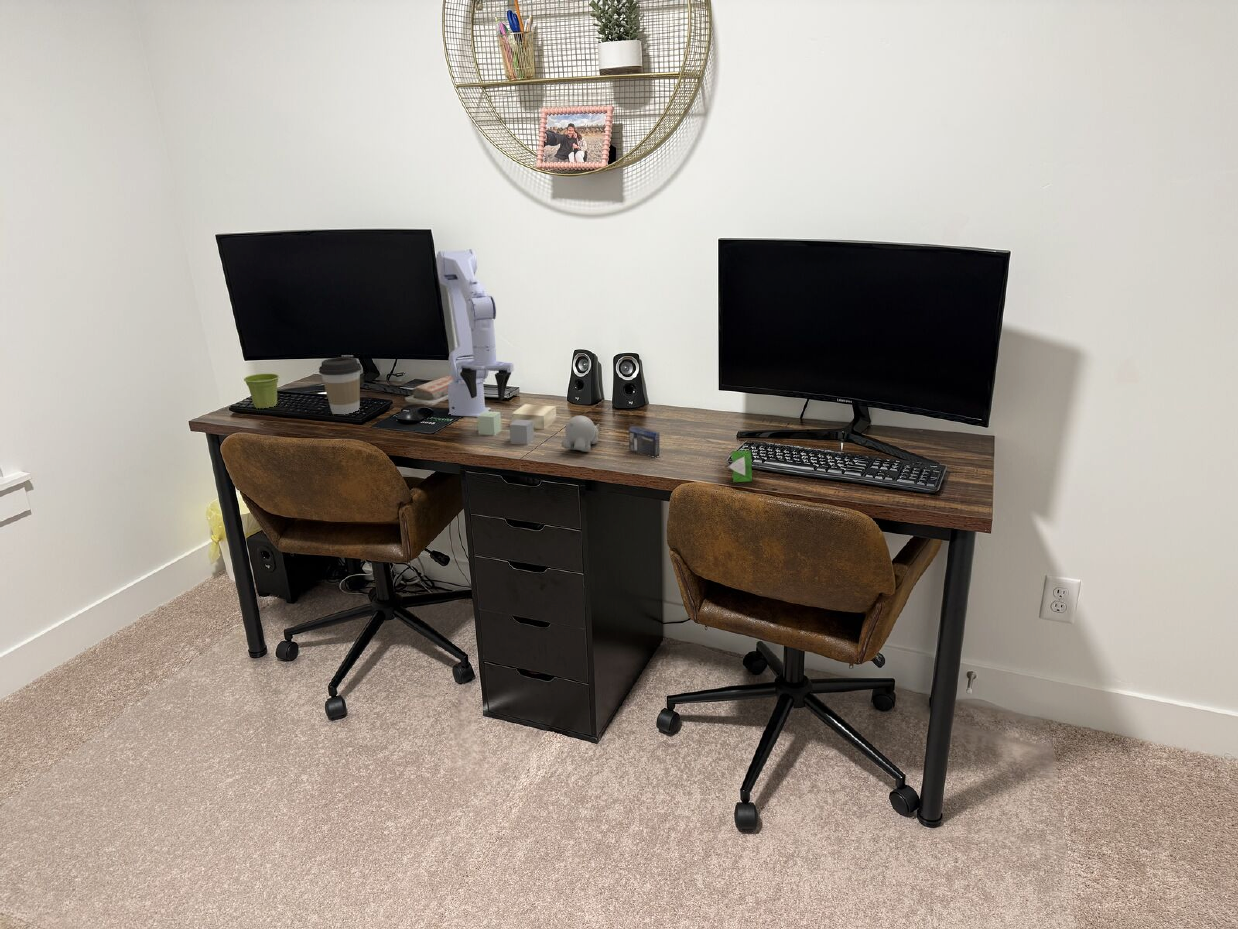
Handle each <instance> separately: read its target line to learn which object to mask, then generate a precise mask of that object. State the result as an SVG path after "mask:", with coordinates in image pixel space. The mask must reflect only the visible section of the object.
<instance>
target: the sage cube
mask: <svg viewBox="0 0 1238 929" xmlns="http://www.w3.org/2000/svg"><path fill="white" fill-rule="evenodd" d="M501 416H502V415H501V411H491V410H489V411H484V412H482V413H481V414H479V415H478V416H477V417H476V419H477V431H478V435H483V436H496V435H498V434H499V433H500V432H502V430H503V429H502V417H501Z"/></svg>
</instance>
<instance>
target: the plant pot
mask: <svg viewBox="0 0 1238 929" xmlns="http://www.w3.org/2000/svg"><path fill="white" fill-rule="evenodd" d="M279 378H280V375H279V374H277V373H257V374H252V375H248V376H246V377H244V378H243V381H244V382H245V384H246V386H247V388H248V390H249V394H250V396H251V399H252V404H253V405H254V408H255V407H256V409H258V408H259V409H264V408H268V409H270V408H269V407H273V408H275V407H276V406H277V405H278V382H279ZM276 404H277V405H276ZM274 406H275V407H274Z"/></svg>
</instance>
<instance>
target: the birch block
mask: <svg viewBox="0 0 1238 929" xmlns="http://www.w3.org/2000/svg"><path fill="white" fill-rule="evenodd" d="M516 419H519V420H533V428H534V429H535V430H545V429H547V428H548V427H549V426H551V425H552V424H553V423H554V422H555V421H556V420H557V406H556V405H545V404H544V405H543V404H529V403H524V404H523V405H521V406H520V407H519V408H517V409H516V410H514V411H513V412H511V423H512V422H513V421H515V420H516Z"/></svg>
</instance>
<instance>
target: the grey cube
mask: <svg viewBox="0 0 1238 929" xmlns="http://www.w3.org/2000/svg"><path fill="white" fill-rule="evenodd" d="M534 432H535V430H534V428H533V420H519V419H516V420H515V421H513V422H512V421H511V423H510V424H509V437H510V438H509V439H510V444H512V445H514V444H515V445H526V446H528V445H529V444H531V442H532V441H534V440H535V433H534Z"/></svg>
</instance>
